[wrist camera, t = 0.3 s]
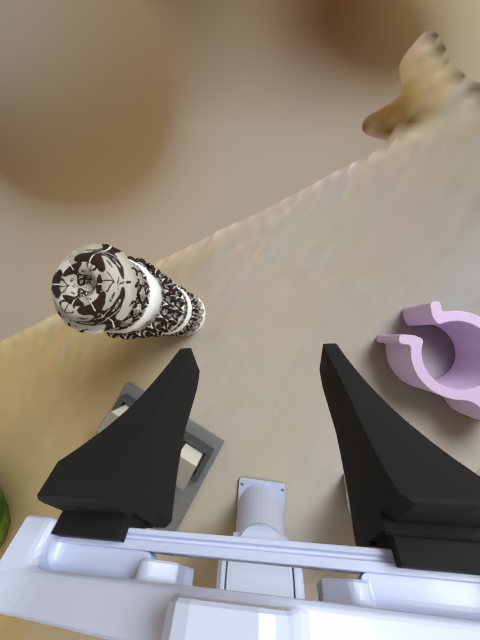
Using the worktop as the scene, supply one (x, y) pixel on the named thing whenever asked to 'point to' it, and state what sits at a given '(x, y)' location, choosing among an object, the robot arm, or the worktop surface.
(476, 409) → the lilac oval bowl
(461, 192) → the worktop surface
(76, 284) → the striped tower model
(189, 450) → the block
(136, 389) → the panel
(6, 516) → the lettuce
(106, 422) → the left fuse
